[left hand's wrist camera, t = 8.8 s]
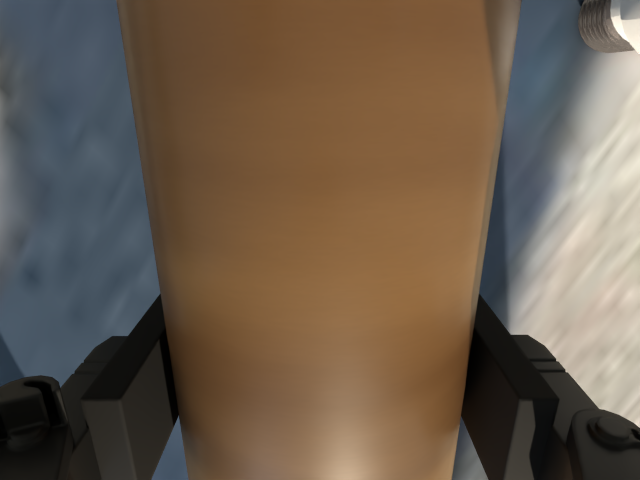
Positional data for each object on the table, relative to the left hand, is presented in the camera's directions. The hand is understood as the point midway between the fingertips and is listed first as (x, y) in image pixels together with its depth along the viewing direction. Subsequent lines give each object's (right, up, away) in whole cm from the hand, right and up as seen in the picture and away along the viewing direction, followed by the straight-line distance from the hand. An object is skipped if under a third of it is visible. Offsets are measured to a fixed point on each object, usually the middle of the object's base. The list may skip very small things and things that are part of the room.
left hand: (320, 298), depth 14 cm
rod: (0, +9, -3) cm, 10 cm away
